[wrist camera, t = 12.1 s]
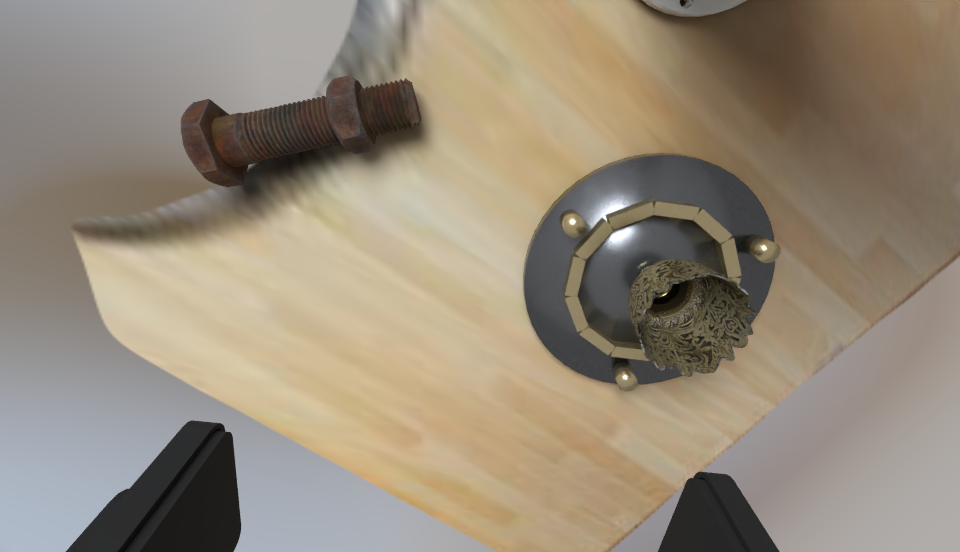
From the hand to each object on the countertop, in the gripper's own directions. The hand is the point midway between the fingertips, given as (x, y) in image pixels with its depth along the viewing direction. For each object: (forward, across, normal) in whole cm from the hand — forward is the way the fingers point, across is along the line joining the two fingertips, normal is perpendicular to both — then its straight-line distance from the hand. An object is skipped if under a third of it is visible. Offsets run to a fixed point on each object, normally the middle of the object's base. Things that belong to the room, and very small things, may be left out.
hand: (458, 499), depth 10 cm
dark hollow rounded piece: (+27, -15, +5) cm, 32 cm away
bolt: (+29, +12, -4) cm, 31 cm away
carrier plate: (+28, -15, +5) cm, 32 cm away
